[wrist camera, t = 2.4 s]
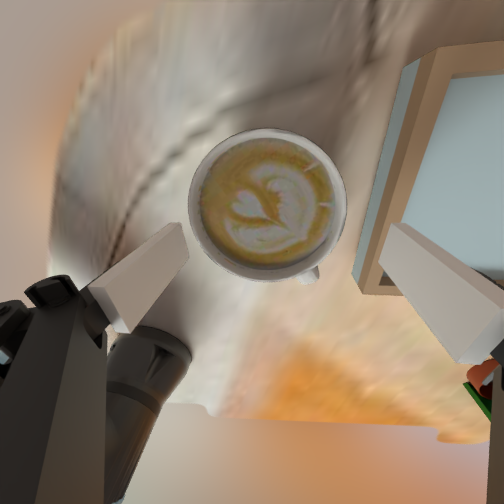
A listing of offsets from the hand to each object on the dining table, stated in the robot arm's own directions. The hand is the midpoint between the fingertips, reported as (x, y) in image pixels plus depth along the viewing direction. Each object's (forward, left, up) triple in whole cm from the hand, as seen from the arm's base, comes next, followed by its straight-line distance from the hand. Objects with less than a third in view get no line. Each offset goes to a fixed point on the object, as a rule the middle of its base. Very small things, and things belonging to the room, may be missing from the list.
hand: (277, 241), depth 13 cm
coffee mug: (0, 0, -10) cm, 10 cm away
